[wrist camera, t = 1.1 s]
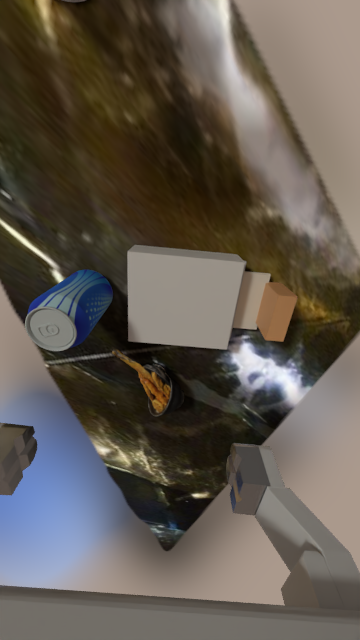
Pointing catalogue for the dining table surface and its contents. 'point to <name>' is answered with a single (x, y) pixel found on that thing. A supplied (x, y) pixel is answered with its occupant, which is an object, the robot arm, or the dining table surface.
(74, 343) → the beer can
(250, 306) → the tan-tipped white bar
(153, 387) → the fried shrimp in bowl
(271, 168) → the dining table surface
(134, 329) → the block
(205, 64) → the dining table surface
